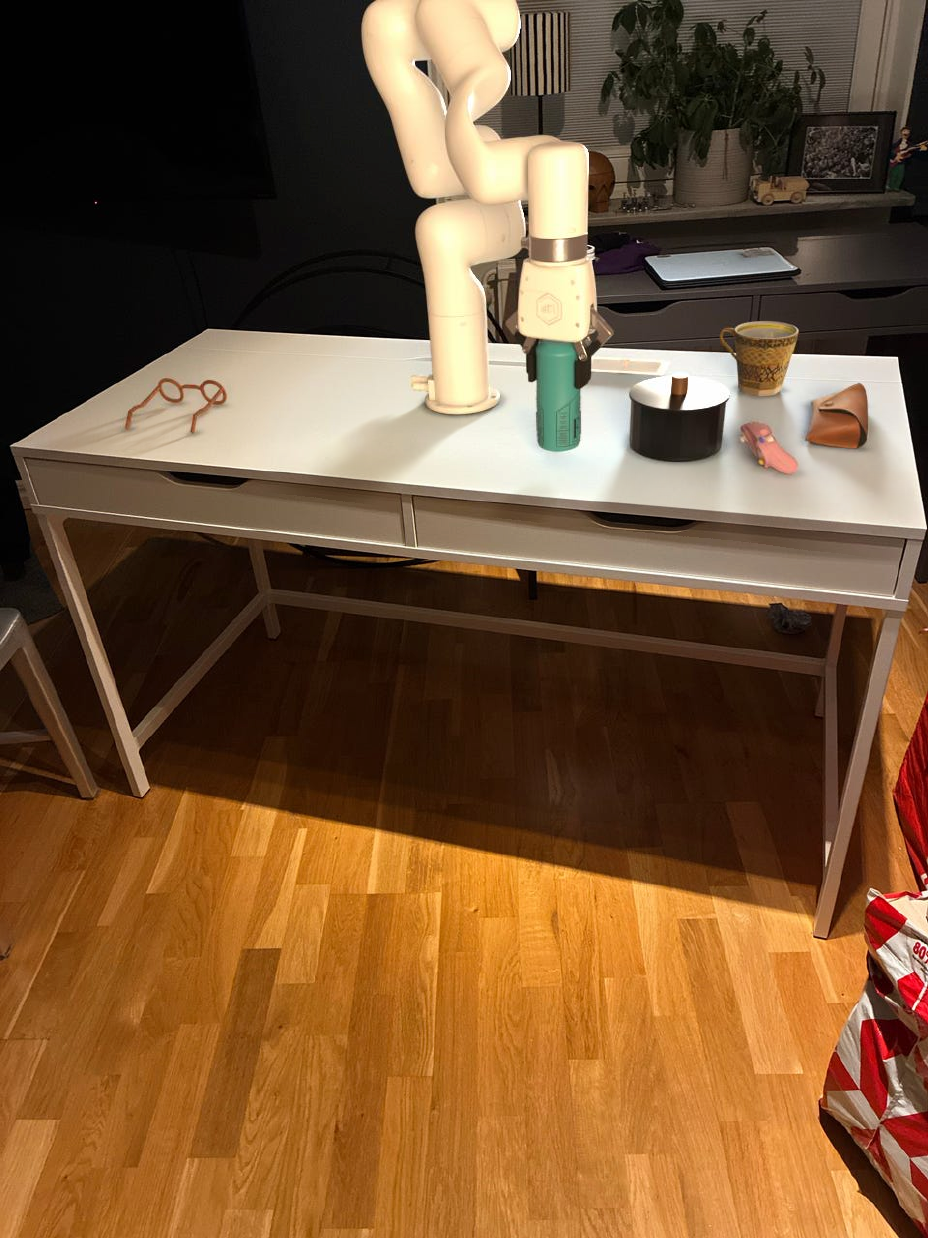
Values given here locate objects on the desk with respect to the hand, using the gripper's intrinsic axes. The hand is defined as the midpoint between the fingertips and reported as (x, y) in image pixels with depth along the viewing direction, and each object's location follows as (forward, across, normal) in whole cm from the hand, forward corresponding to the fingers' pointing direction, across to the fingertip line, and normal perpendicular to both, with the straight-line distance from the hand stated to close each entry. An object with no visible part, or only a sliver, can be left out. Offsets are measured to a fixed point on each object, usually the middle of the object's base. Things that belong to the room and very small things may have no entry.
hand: (558, 381), depth 132 cm
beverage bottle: (+11, 0, 0) cm, 11 cm away
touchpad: (+12, -7, +40) cm, 42 cm away
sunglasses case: (+12, +33, +29) cm, 45 cm away
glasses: (+12, -67, -11) cm, 69 cm away
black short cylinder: (+12, +13, +12) cm, 21 cm away
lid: (+4, +13, +12) cm, 18 cm away
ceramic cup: (+12, +16, +40) cm, 45 cm away
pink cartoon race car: (+12, +27, +11) cm, 32 cm away
